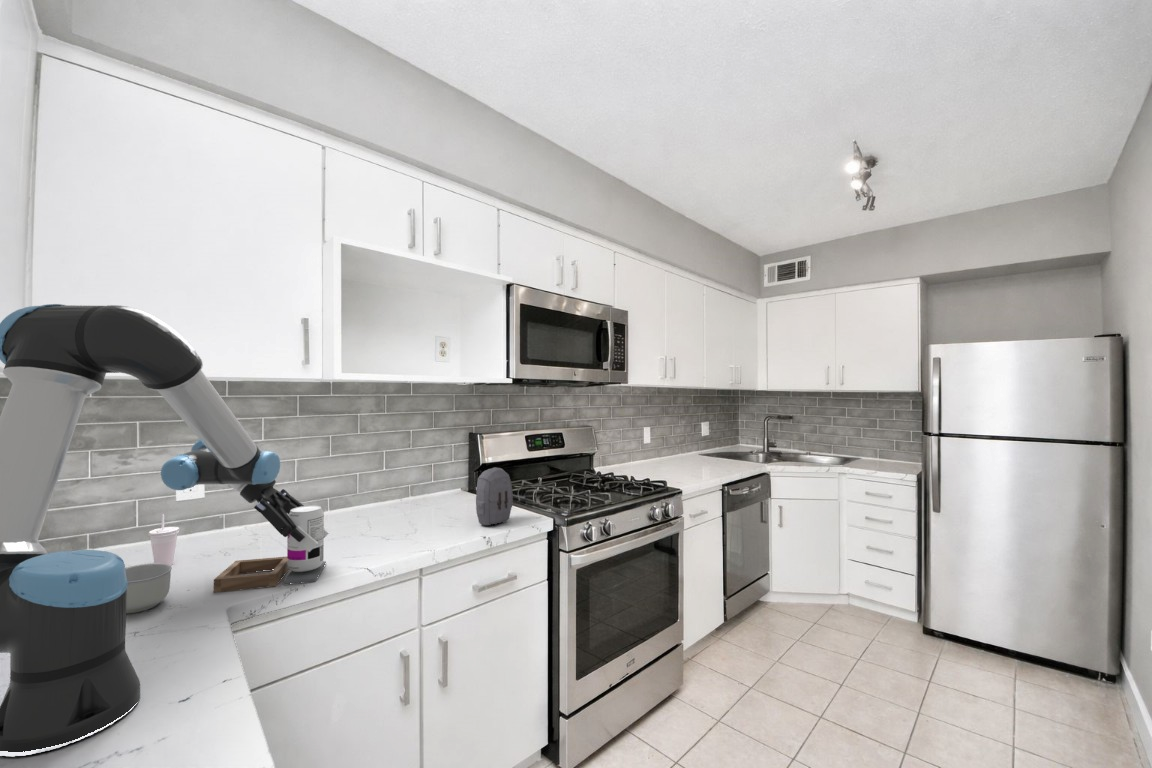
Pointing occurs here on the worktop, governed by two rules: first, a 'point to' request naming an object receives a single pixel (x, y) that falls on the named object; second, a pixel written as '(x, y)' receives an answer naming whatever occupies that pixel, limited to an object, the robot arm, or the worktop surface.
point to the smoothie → (164, 543)
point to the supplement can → (314, 526)
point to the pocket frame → (234, 581)
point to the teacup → (146, 585)
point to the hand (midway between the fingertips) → (319, 542)
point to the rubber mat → (304, 575)
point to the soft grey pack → (493, 496)
